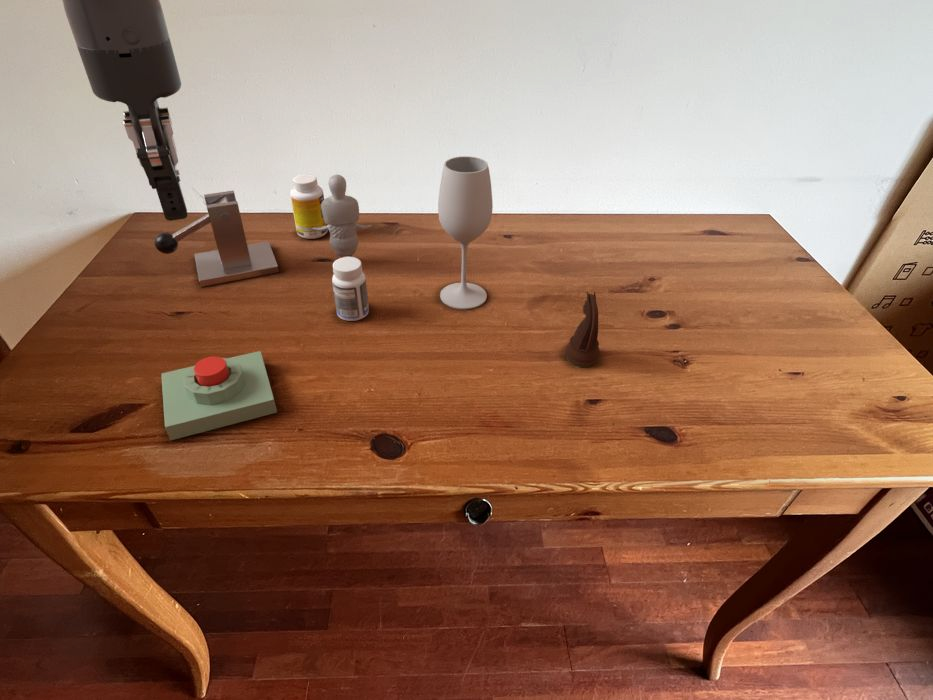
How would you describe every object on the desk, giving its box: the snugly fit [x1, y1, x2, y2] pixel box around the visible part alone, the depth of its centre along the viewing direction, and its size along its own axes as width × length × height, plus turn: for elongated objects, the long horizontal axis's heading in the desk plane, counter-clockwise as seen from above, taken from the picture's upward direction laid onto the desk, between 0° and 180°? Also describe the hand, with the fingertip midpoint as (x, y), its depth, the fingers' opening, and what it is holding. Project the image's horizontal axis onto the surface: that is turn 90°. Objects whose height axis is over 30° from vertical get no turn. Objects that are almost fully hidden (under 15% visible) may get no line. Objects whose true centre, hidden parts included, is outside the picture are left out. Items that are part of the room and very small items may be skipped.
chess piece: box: [564, 291, 600, 368], centre depth 79 cm, size 5×5×10 cm
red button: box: [194, 355, 229, 387], centre depth 72 cm, size 4×4×2 cm
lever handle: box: [154, 197, 230, 255], centre depth 93 cm, size 13×3×3 cm, turn 114°
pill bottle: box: [331, 256, 370, 322], centre depth 87 cm, size 5×5×8 cm
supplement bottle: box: [289, 173, 329, 240], centre depth 106 cm, size 6×6×10 cm
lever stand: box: [194, 190, 280, 288], centre depth 96 cm, size 12×9×12 cm
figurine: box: [312, 174, 373, 258], centre depth 97 cm, size 9×4×15 cm, turn 99°
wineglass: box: [437, 155, 494, 310], centre depth 87 cm, size 8×8×21 cm
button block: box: [160, 350, 278, 441], centre depth 73 cm, size 12×10×4 cm
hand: (177, 216), depth 64 cm, fingers closed
